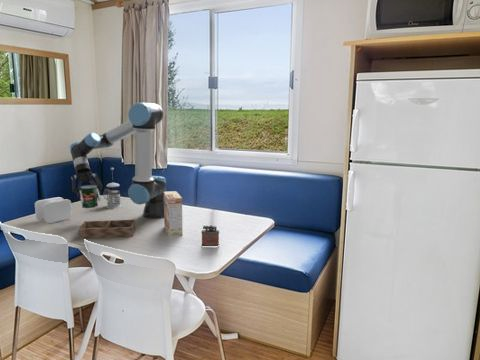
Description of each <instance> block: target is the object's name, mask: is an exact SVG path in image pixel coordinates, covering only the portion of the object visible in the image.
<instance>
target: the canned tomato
mask: <svg viewBox="0 0 480 360" xmlns="http://www.w3.org/2000/svg"><path fill="white" fill-rule="evenodd" d="M80 190H81V192H82V196H83V200H84V201H83V203H81V204H82V208H83V209H94V208H98V206H99V205H98V202H99V201H98V197H97V186H96V185H92V184H87V185H86V184H85V185H81V187H80Z"/></svg>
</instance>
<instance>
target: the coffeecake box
mask: <svg viewBox="0 0 480 360" xmlns="http://www.w3.org/2000/svg"><path fill="white" fill-rule="evenodd" d="M163 219H164V222H163V223H164V224H163V225H164V229H165V231H166V234H167V235H168V237H169V236H170V237H177V235H179V236H183V197H182V196H181V195H180V194H179V193H178V191H175V190H173V191H172V190H171V191H167V190H166V192H164V217H163Z"/></svg>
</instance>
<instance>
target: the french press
mask: <svg viewBox="0 0 480 360" xmlns="http://www.w3.org/2000/svg"><path fill="white" fill-rule="evenodd" d="M110 170H111V175H112V176H111V177H112V179H114V177H113V175H114V174H113V170H115V168H114V167H110ZM120 186H121V185H120V184H119V183H118V182H117V183H116V182H110V183H107V184H106V188H104V191H103V193H104V196H103V197H104V199H105V200H107V201H106V202H107V204H106V207H105V208H107V209H119V208H122V207H123V205H122V204H121V193H120V190H118V189H116V190H114V189H112V190H110V189H109V188H118V187H120Z"/></svg>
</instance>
